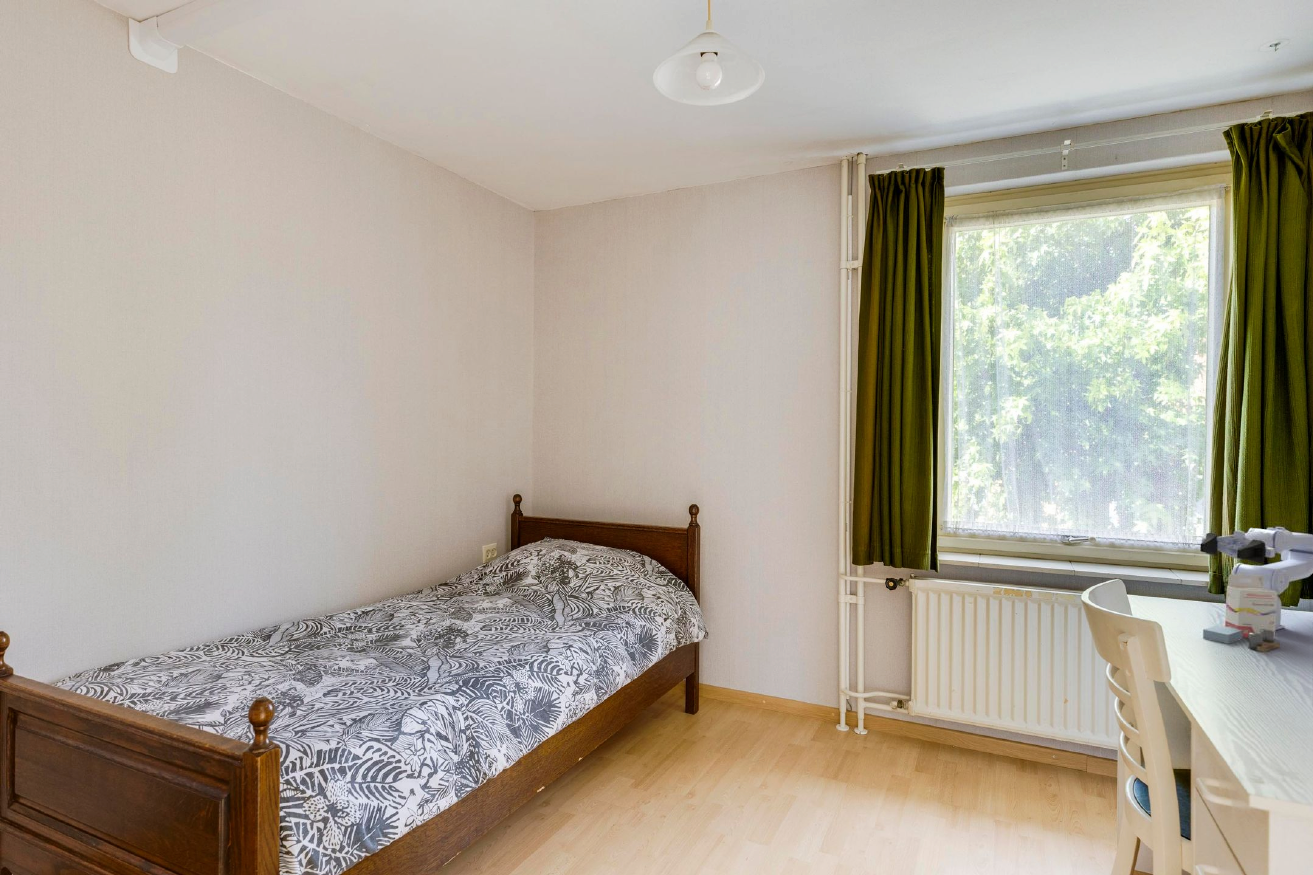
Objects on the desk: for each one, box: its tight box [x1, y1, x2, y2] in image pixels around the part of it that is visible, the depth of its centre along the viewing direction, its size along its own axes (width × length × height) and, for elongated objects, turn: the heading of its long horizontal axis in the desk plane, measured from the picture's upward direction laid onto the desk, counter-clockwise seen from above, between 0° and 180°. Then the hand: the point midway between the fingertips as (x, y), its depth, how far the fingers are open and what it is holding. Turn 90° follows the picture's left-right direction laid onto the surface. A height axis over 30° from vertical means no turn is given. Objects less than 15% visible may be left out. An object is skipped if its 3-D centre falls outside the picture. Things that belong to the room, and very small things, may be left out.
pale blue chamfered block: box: [1202, 624, 1243, 645], centre depth 171 cm, size 8×5×2 cm, turn 122°
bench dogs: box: [1247, 629, 1280, 653], centre depth 164 cm, size 8×3×4 cm, turn 120°
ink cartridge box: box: [1224, 573, 1278, 640], centre depth 174 cm, size 9×5×15 cm, turn 84°
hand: (1220, 550), depth 173 cm, fingers open, 7 cm apart
